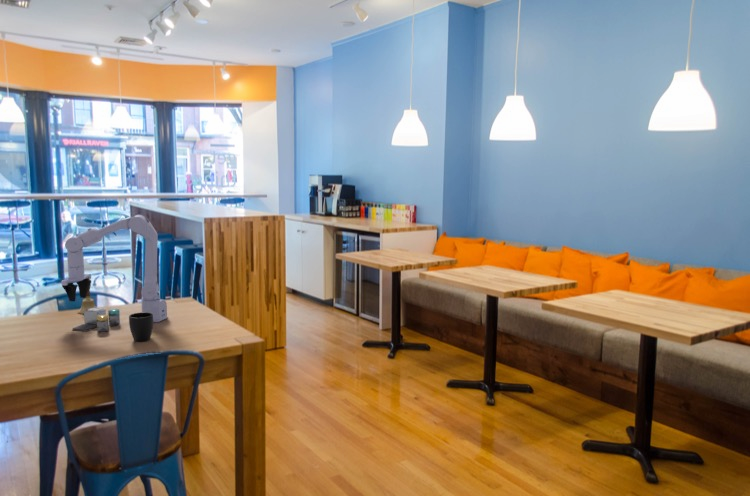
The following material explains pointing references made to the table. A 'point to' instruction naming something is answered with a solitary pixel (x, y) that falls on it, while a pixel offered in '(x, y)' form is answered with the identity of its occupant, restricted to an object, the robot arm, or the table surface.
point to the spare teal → (114, 317)
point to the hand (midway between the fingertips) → (77, 299)
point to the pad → (84, 327)
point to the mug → (141, 326)
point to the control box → (93, 315)
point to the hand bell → (87, 302)
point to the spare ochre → (102, 324)
